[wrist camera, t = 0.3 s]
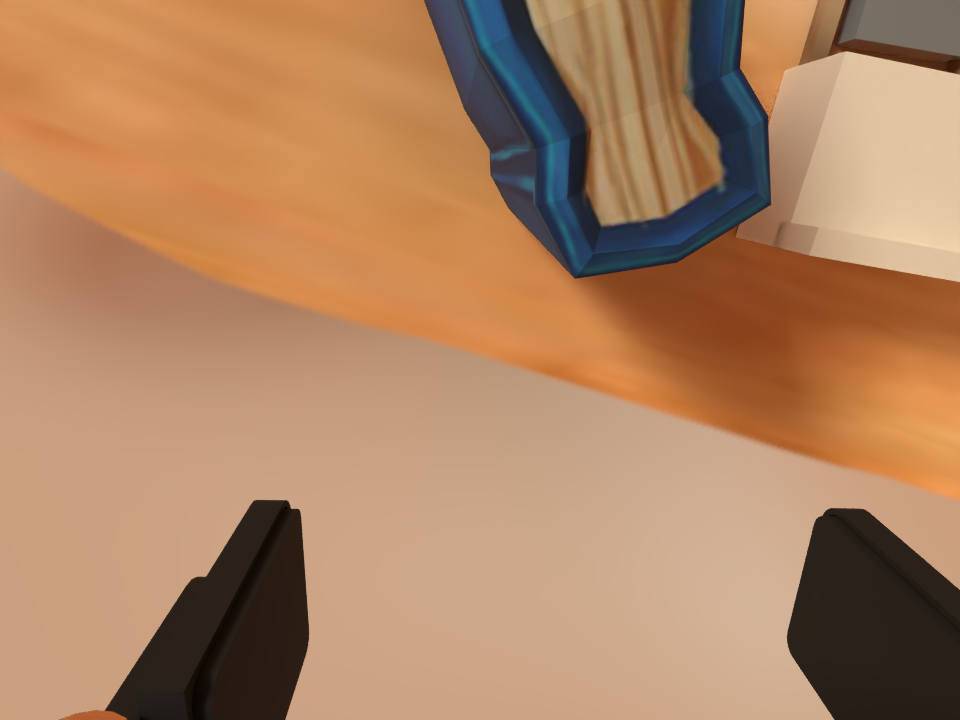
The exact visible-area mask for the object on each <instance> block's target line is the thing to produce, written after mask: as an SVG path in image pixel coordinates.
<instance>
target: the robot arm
mask: <svg viewBox="0 0 960 720" xmlns="http://www.w3.org/2000/svg"><path fill="white" fill-rule="evenodd" d="M308 641H309V623H308V609H307V595H306V580H305V567H304V552H303V539H302V523H301V513H300V510H299V509H291V508H290V504H289V502H288V501H287V500H285V501H284V500H255V501H253V503H252V504H251V505H250V507H249V509H248V510H247V512H246V514H245V515H244V517H243V518H242V520H241V522H240V523H239V525H238V526H237V528H236V530H235V531H234V533H233V534H232V536H231V538H230V539H229V541H228V543H227V544H226V546H225V547H224V549H223V551H222V552H221V554H220V555H219V557H218V559H217V560H216V562H215V564H214V565H213V567H212V568H211V570H210V572H209V573H208V575H207V576H206V577H196V578H194V579H192V580H191V581H190V582H189V583H188V585H187V586H186V587H185V589H184V590H183V592H182V593H181V595H180V597H179V598H178V600H177V601H176V603H175V604H174V606H173V607H172V609H171V610H170V612H169V613H168V615H167V616H166V618H165V619H164V621H163V622H162V624H161V626H160V627H159V629H158V630H157V632H156V633H155V635H154V636H153V638H152V639H151V641H150V642H149V644H148V646H147V647H146V648H145V650H144V651H143V653H142V655H141V656H140V658H139V659H138V661H137V662H136V664H135V665H134V667H133V668H132V670H131V671H130V673H129V675H128V676H127V677H126V679H125V681H124V682H123V684H122V685H121V687H120V688H119V690H118V691H117V693H116V694H115V696H114V698H113V699H112V700H111V702H110V704H109V705H108V707H107V708H106V710H105V711H99V710H94V711H88V712H83V713H77V714H73V715H71V716H68V717H65V718H63V719H60V720H285V719H286V716H287V712H288V709H289V706H290V703H291V700H292V697H293V694H294V691H295V687H296V684H297V681H298V678H299V675H300V672H301V668H302V665H303V662H304V659H305V656H306V652H307V648H308ZM787 643H788V647H789V650H790V653H791V655H792V657H793V658H794V660H795V661H796V663H797V664H798V666H799V667H800V669H801V670H802V672H803V673H804V675H805V676H806V678H807V679H808V681H809V682H810V684H811V685H812V687H813V688H814V690H815V691H816V693H817V694H818V696H819V697H820V699H821V700H822V702H823V703H824V705H825V706H826V708H827V709H828V711H829V712H830V714H831V715H832V717H833V718H834V720H960V590H959V589H958V588H957V587H956V586H954V585H953V584H952V583H951V582H950V581H949V580H947V579H946V578H945V577H944V576H943V575H942V574H940V573H939V572H938V571H937V570H936V569H934V568H933V567H932V566H931V565H930V564H929V563H927V562H926V561H925V560H924V559H923V558H922V557H921V556H919V555H918V554H917V553H916V552H915V551H913V550H912V549H911V548H910V547H909V546H908V545H907V544H905V543H904V542H903V541H902V540H901V539H900V538H898V537H897V536H896V535H895V534H894V533H892V532H891V531H890V530H889V529H888V528H887V527H885V526H884V525H883V524H882V523H881V522H880V521H879V520H877V519H876V518H875V517H874V516H872V515H871V514H870V513H869V512H867V511H866V510H864V509H846V508H830V509H828V510H826V511H825V513H824V514H823V516H820V517H818V518H817V519H816V521H815V523H814V527H813V531H812V535H811V539H810V543H809V547H808V551H807V555H806V559H805V563H804V567H803V571H802V576H801V579H800V584H799V588H798V592H797V596H796V600H795V604H794V608H793V613H792V616H791V620H790V624H789V628H788V634H787Z"/></svg>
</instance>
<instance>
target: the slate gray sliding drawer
mask: <svg viewBox="0 0 960 720" xmlns="http://www.w3.org/2000/svg"><path fill="white" fill-rule="evenodd" d="M835 45H836V46H842V47H848V48H854V49H860V50H866V51H872V52H878V53H884V54H890V55H895V56H901V57H907V58H913V59H919V60H925V61H931V62H937V63H942V62H947V61H951V60H956V59H960V0H848V2H847V5H846V9H845V12H844V16H843V19H842V23H841V26H840V30H839V33H838V37H837V40H836V44H835Z"/></svg>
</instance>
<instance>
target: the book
mask: <svg viewBox="0 0 960 720" xmlns="http://www.w3.org/2000/svg"><path fill="white" fill-rule="evenodd" d="M424 2H425V4H426V7H427V10H428V12H429V15H430V18H431V20H432V23H433V26H434V28H435V31H436V34H437V37H438V39H439V42H440V45H441V47H442V50H443V53H444V55H445V58H446V61H447V64H448V66H449V69H450V72H451V74H452V77H453V80H454V82H455V85H456V88H457V91H458V93H459V96H460V99H461V101H462V104H463V107H464V109H465V111H466V113H467V115H468V116H469V118H470V119H471V121H472V123H473V124H474V126H475V127H476V129H477V130H478V132H479V134H480V135H481V137H482V138H483V140H484V142H485V143H486V145H487V146H488V148H489V150H490V171H491V176H492V178H493V180H494V182H495V184H496V186H497V188H498V189H499V191H500V193H501V195H502V197H503V199H504V201H505V203H506V204H507V206H508V208H509V209H510V210H511V211H512V213H513V214H514V215H515V216H516V217H517V218H518V219H519V220H520V221H521V222H522V223H523V224H524V225H525V226H526V227H527V228H528V229H529V231H530V232H531V233H532V234H533V235H534V236H535V237H536V238H537V239H538V240H539V241H540V242H541V243H542V244H543V245H544V246H545V247H546V249H547V250H548V251H549V252H550V253H551V254H552V255H553V256H554V257H555V258H556V259H557V260H558V261H559V262H560V263H561V264H562V265H563V267H564V268H565V269H566V270H567V271H568V272H569V273H570V274H571V275H572V276H573V277H574V278H575V279H576V278H583V277H589V276H595V275H601V274H608V273H614V272H620V271H627V270H633V269H639V268H646V267H652V266H658V265H664V264H671V263H677V262H679V261H680V260H682V259H683V258H685V257H687V256H688V255H690V254H692V253H693V252H695V251H697V250H698V249H700V248H701V247H703V246H705V245H706V244H708V243H710V242H711V241H713V240H715V239H716V238H718V237H719V236H721V235H723V234H724V233H726V232H728V231H729V230H731V229H733V228H734V227H736V226H737V225H739V224H741V223H742V222H744V221H746V220H747V219H749V218H751V217H752V216H754V215H755V214H757V213H759V212H760V211H762V210H764V209H765V208H767V207H769V206H770V205H771V183H770V157H769V131H768V115H767V114H766V112H765V110H764V108H763V107H762V105H761V103H760V102H759V100H758V98H757V96H756V95H755V93H754V91H753V90H752V88H751V86H750V84H749V83H748V81H747V79H746V78H745V76H744V74H743V72H742V71H741V69H740V60H741V47H742V33H743V20H744V7H745V0H424Z"/></svg>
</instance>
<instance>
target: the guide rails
mask: <svg viewBox="0 0 960 720" xmlns="http://www.w3.org/2000/svg"><path fill="white" fill-rule="evenodd" d="M844 4H845V0H819V1H818V4H817V7H816V11H815V14H814V17H813V21H812V24H811V27H810V31H809V34H808V37H807V40H806V44H805V47H804V50H803V54H802V57H801V60H800V64H799V66H800V65H803V64H806V63H809V62H813V61H816V60H819V59H822V58H825V57H828V54H829V51H830V48H831V45H832V42H833V39H834V35H835V32H836V29H837V26H838V23H839V19H840V16H841V13H842V10H843V7H844ZM945 72H949V73H954V74H959V75H960V59H956V60H951V61H949V63H948V66H947V69H946V71H945Z"/></svg>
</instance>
